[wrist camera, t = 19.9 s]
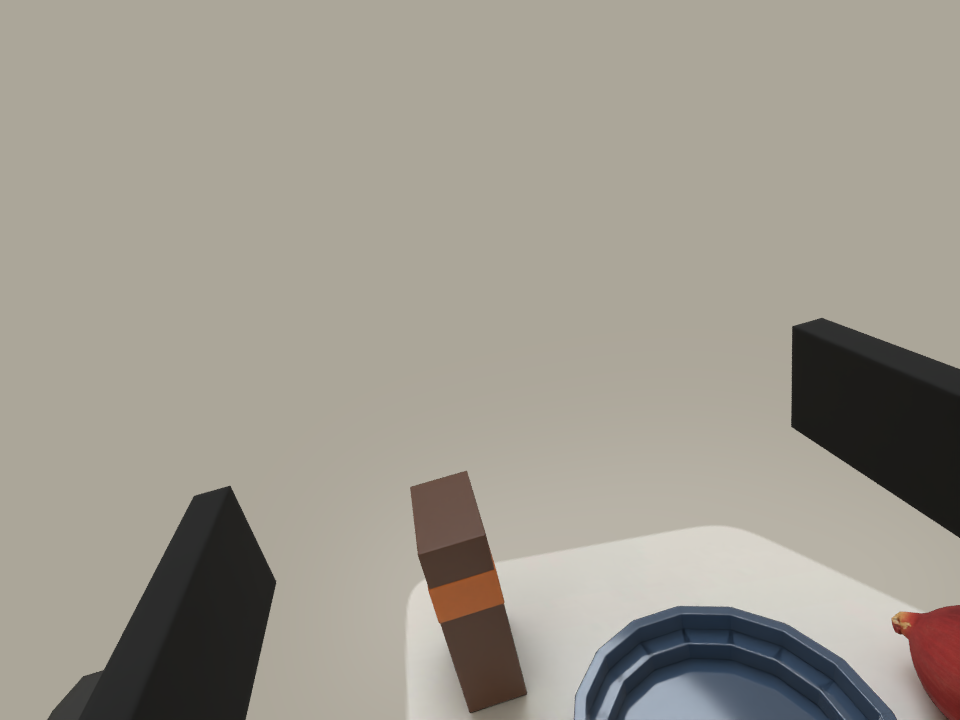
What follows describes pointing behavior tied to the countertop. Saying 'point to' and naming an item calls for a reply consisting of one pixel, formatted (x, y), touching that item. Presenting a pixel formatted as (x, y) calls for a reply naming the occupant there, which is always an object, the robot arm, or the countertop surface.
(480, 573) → the snack carton
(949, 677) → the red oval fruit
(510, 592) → the countertop surface
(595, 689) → the bowl
